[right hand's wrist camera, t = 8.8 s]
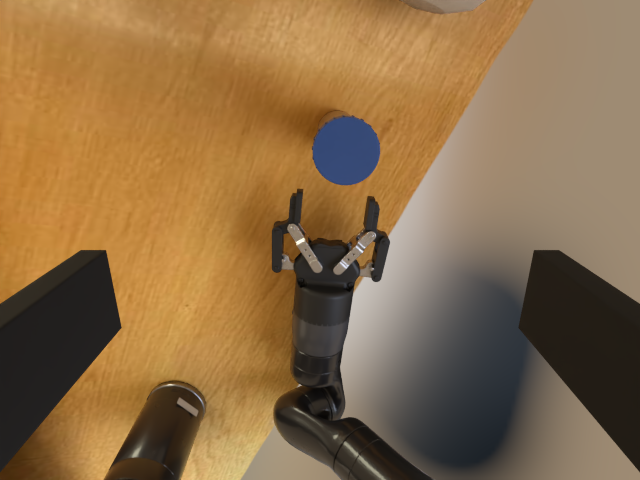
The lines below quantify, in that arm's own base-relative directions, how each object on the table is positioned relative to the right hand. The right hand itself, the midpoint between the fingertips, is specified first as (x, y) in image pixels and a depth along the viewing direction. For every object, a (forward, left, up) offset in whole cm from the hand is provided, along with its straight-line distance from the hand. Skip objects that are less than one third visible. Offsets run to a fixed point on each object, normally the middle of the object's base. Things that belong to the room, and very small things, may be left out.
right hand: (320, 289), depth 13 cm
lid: (-2, +2, -23) cm, 23 cm away
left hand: (+5, +4, -35) cm, 36 cm away
